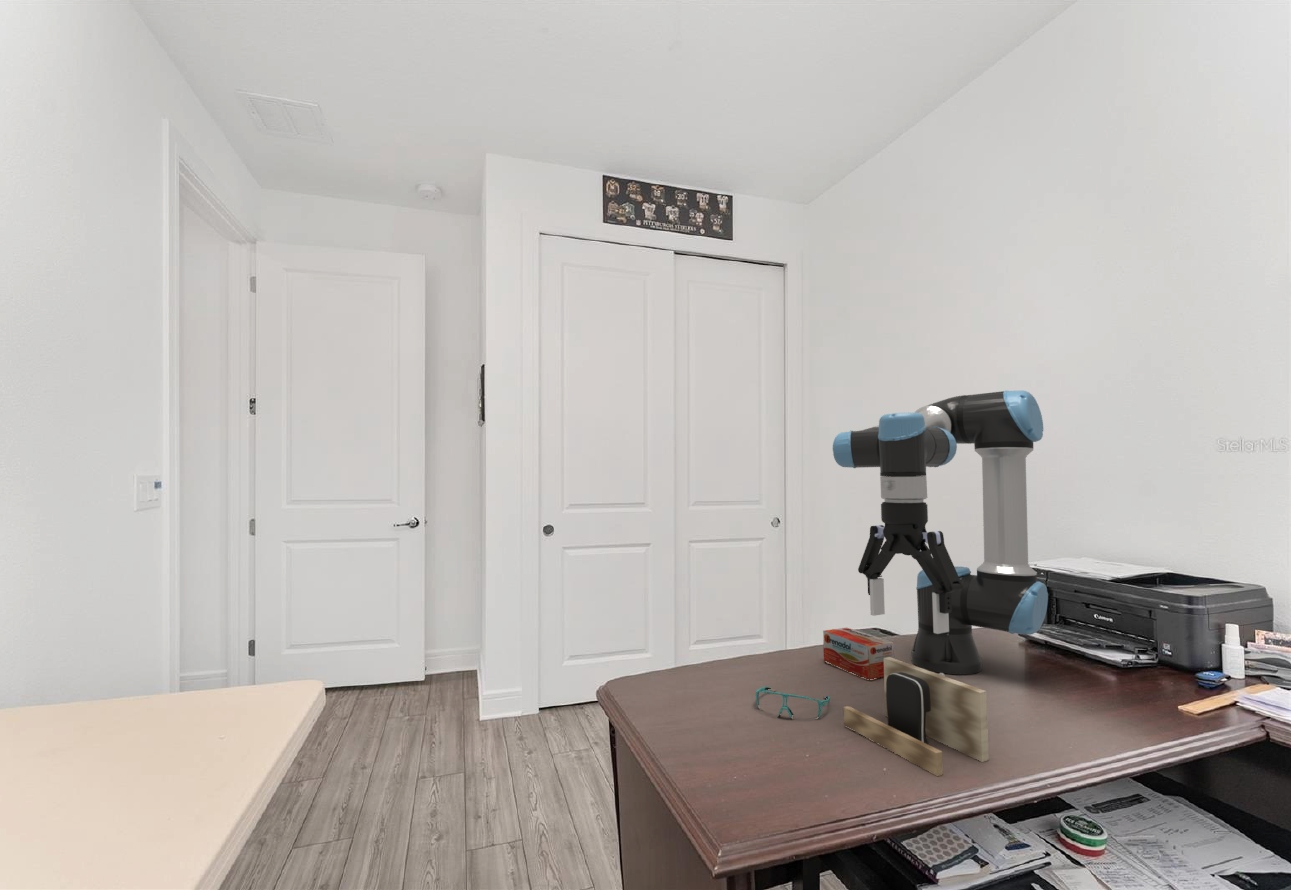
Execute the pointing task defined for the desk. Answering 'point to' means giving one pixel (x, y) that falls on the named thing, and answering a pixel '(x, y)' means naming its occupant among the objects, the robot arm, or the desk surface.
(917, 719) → the battery charger
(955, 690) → the wooden boards
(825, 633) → the medicine box
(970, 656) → the robot arm
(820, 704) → the sunglasses
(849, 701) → the desk surface
